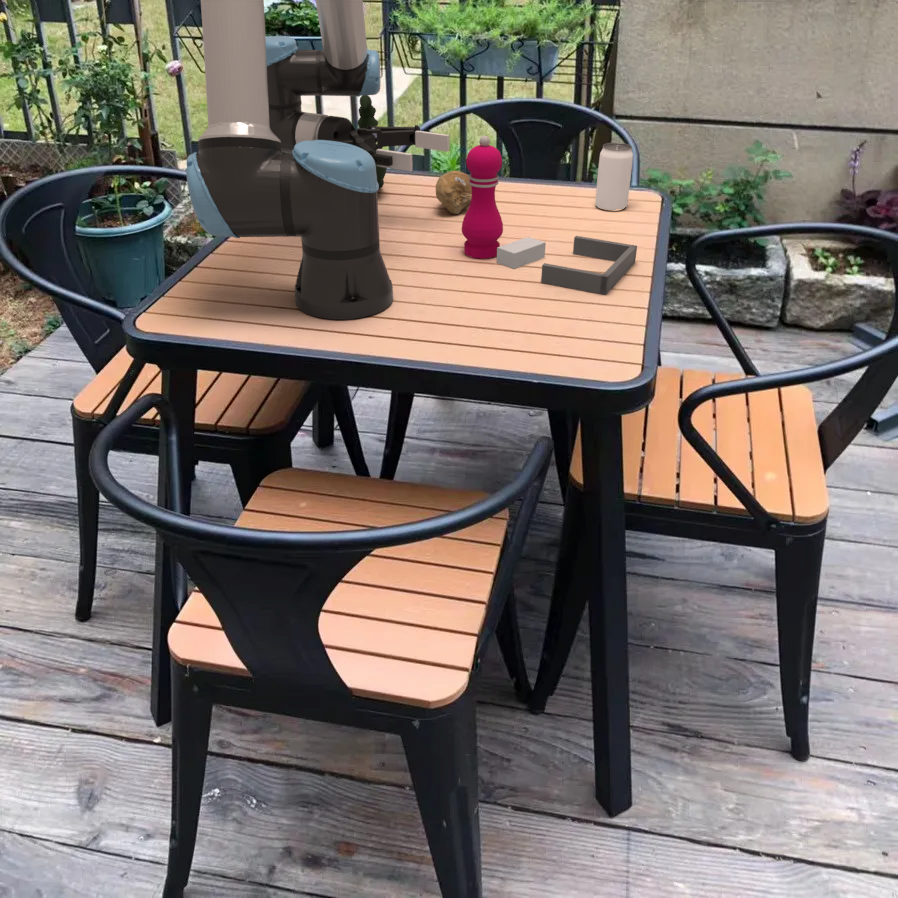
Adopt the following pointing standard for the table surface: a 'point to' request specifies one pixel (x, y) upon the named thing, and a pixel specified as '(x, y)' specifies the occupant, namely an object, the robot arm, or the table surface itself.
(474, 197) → the pepper mill
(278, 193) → the robot arm
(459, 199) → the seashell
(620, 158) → the can
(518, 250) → the white block
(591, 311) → the table surface
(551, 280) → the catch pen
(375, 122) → the toy figurine
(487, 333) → the table surface
